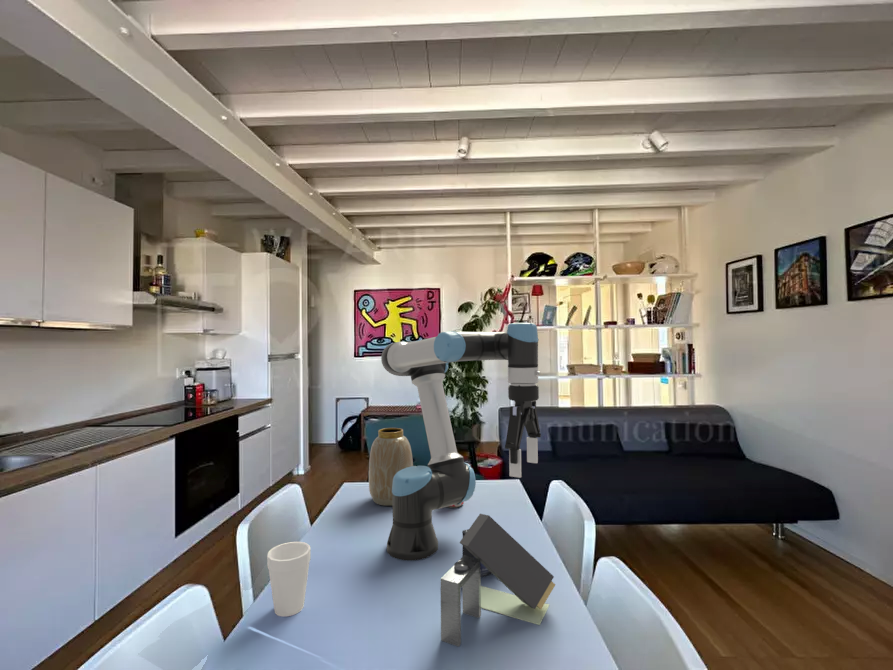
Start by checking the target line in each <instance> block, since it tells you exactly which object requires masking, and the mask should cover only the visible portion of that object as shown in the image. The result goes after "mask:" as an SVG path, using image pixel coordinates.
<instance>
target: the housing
mask: <svg viewBox="0 0 893 670" xmlns="http://www.w3.org/2000/svg"><path fill="white" fill-rule="evenodd" d="M481 578H482V577H481V574H480V559H477V558H473V557H469V556H465V555H464V556H463V557H460V559H459V560H458V561H457V562H454V564H453V566H451V568H449V570H448V571H447V572H446V573H444V574H443V575H442V577H441V578H440V641H441V642H444V643H446V644H449V645H452V646H456V647H458V648H459V647H460V646H461V645H462V623H461V622H462V615H461V614H465V615H467V616H471V617H473V618H477V619H480V618H481V616H482V608H481V586H482V582H481ZM461 589H462V590H461ZM461 591H462V592H461ZM461 593H462V594H461ZM461 595H462V600H461ZM461 601H462V603H461ZM461 604H462V607H461ZM461 609H462V613H461Z"/></svg>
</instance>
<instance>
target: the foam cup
mask: <svg viewBox="0 0 893 670" xmlns="http://www.w3.org/2000/svg"><path fill="white" fill-rule="evenodd" d="M266 557H267V559H266V562H267V563H266V567H267V568H268V575H269V582H270V588H271V589H270V590H271V594H272V596H271V597H272V603H273V610H274V614H276V616H277V617H286V618H287V617H292V616H294V615H297V614H298V613H300V612H301V611H302V610H303V609H304V605H305V600H306V591H307V584H308V577H309V568H310V562H311V545H310V544H308V543H307V542H303V541H289V542H285V543H281V544H280V543H279V544H278V545H275V546H273V547H271V549H270V550H269V551H267V555H266Z"/></svg>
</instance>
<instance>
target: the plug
mask: <svg viewBox="0 0 893 670" xmlns="http://www.w3.org/2000/svg"><path fill="white" fill-rule="evenodd" d="M467 530H468V529H467ZM459 544H461V546H462V547H463V546H464V547H465V548H466V549H467V550H468V551H469V552H470V553H471V554H472V555H473V556H474V557H475V558H477V559H480V562H481V563H482V564H483V565H484V566H485V567H486V568H487V569H488V570H489V571H490V572H491V573H492V574H491V575H493V576H495V578H496V579H498V581H500V582H501V583H502V584H503V585H504V587H506V588H508V590H509V591H510V592H511V594H513V595H516V596H517V597H518V598H519V599H520V600H521V601H522V602H523V603H525V604H527V605H528V606H530V607H532V608H533V609H535V608H536V607H538V608H540V609H542V607H543V605H544V604H546V602H547V600H548V598H549V597H550V596H551V593H552V592H553V590H554V588H555V587H556V584H555V582H553V579H554V578H555V576H554V575H553V574H552V573H551V572H550V571H548V569H547V568H546V567H544V566H543V565H542V564H541V563H540V562H539V561H538V560H537V559H536V558H535V557H534V556H533V555H532V554H531V553H530V552H528V550H526V549H525V548H524V547H523V546H522V545H521V544H520V543H519V542H518V541H517V540H516V539H515V538H513V536H511V535H510V534H509V533H508V532H507V531H506V530H505V529H504V528H503V527H502V526H501V525H500V524H499V522H497V521H496V520H495V519H494V518H493V517H491V516H490V515H489V514H484V513H479V515H478V516H477V517H476V519H475V520H474V521H473V523H472V524H471V525H470V527H469V530H468V531H467V533H466V534H465V535H464V537H463V536H462V538H461V539H460V541H459Z"/></svg>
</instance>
